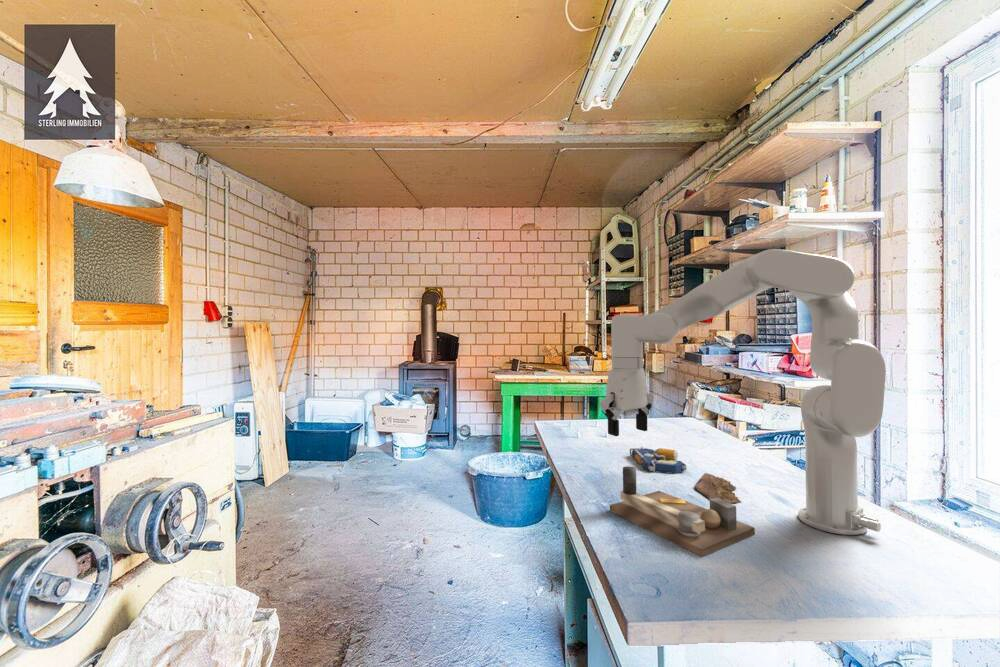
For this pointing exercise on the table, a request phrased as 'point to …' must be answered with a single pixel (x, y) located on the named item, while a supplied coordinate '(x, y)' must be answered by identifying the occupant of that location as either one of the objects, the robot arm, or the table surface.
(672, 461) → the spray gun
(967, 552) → the table surface
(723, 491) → the wooden fragment
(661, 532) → the press board
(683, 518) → the lever
